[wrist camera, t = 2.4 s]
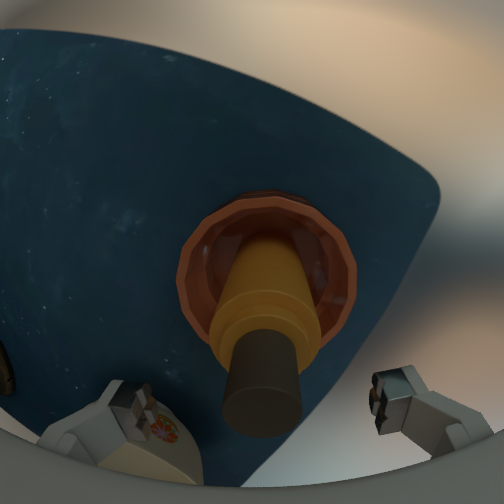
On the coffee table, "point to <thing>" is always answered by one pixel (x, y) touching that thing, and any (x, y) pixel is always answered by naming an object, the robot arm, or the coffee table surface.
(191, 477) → the bowl
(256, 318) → the bottle
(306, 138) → the coffee table surface
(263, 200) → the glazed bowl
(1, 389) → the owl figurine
